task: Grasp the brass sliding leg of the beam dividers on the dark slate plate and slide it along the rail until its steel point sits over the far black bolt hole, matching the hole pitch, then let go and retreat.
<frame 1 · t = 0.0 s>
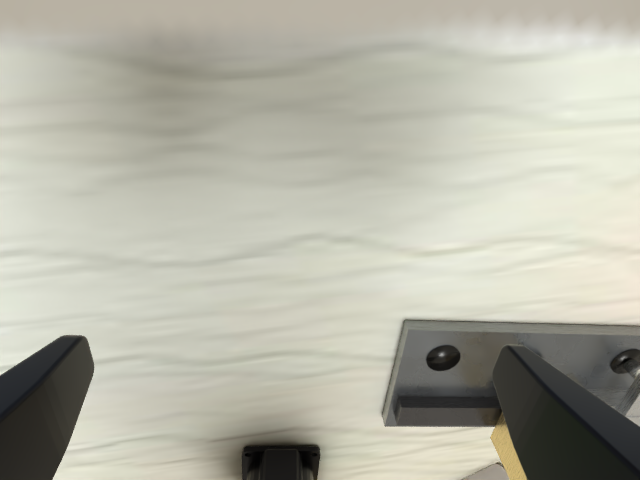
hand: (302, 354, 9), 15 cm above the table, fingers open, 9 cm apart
dividers base: (519, 373, 31), on the table
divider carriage: (550, 436, 27), point 5 cm above the table, slide at 0.0 cm
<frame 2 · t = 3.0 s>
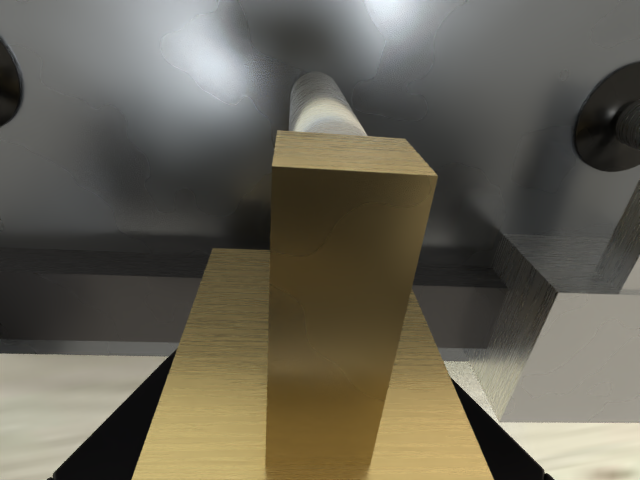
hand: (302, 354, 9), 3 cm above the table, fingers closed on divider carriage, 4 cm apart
dividers base: (306, 189, 10), on the table
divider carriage: (310, 343, 7), point 5 cm above the table, slide at 0.0 cm, touching gripper
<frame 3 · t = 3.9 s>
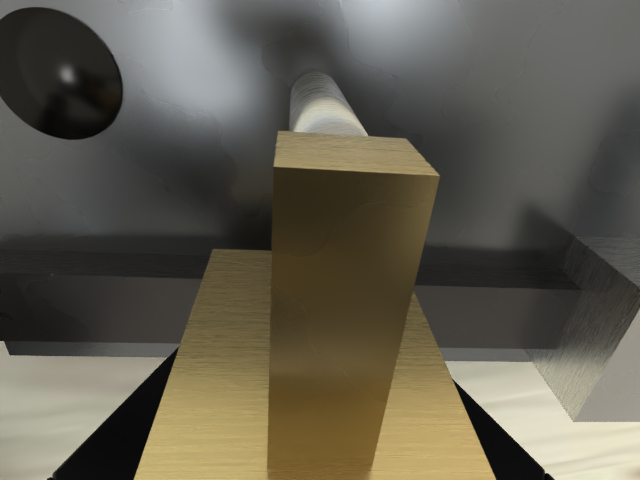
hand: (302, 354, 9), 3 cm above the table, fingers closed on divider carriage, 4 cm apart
dividers base: (379, 193, 11), on the table
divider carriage: (311, 343, 7), point 5 cm above the table, slide at 2.0 cm, touching gripper
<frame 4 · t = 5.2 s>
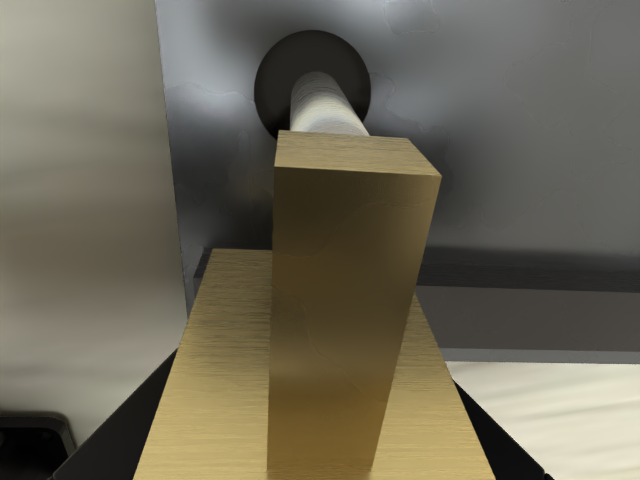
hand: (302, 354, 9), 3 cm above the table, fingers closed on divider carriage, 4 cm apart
dividers base: (559, 203, 11), on the table
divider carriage: (311, 343, 7), point 5 cm above the table, slide at 6.9 cm, touching gripper
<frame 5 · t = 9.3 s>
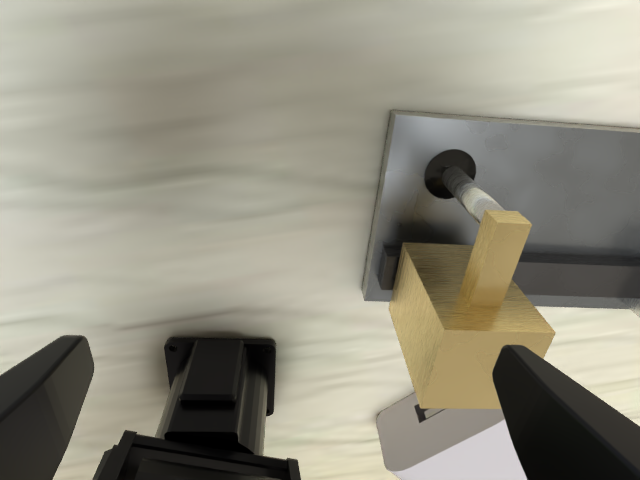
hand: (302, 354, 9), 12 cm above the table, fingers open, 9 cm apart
dividers base: (559, 220, 21), on the table
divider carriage: (461, 278, 17), point 5 cm above the table, slide at 7.0 cm
charger: (479, 428, 31), on the table
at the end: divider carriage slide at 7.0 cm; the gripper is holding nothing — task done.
